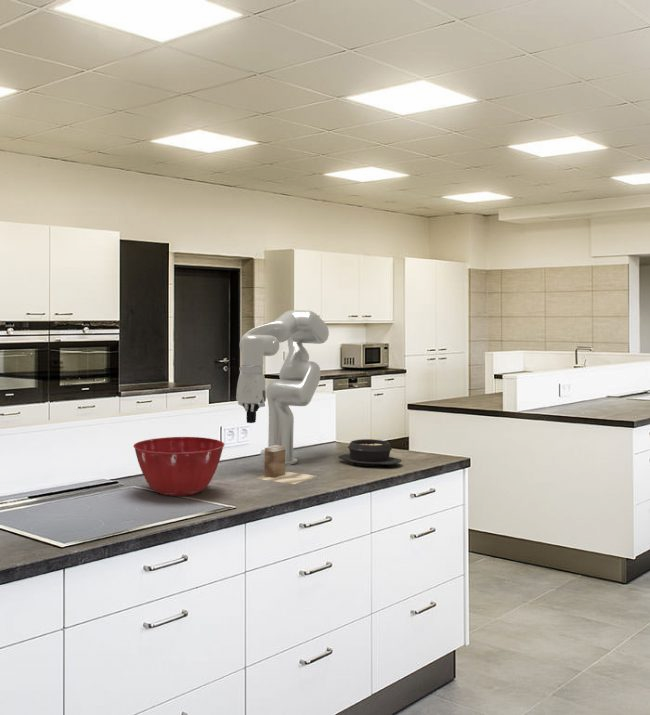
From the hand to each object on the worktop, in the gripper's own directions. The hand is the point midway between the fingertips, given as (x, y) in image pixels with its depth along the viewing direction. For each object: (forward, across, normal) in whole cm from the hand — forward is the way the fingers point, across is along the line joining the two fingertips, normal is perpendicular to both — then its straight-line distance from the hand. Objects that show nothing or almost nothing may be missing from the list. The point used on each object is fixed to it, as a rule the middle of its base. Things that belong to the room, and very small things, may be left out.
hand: (251, 422), depth 290 cm
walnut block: (+18, +10, +1) cm, 20 cm away
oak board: (+18, +15, +1) cm, 24 cm away
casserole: (+18, +26, +43) cm, 53 cm away
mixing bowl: (+19, -3, -35) cm, 40 cm away
